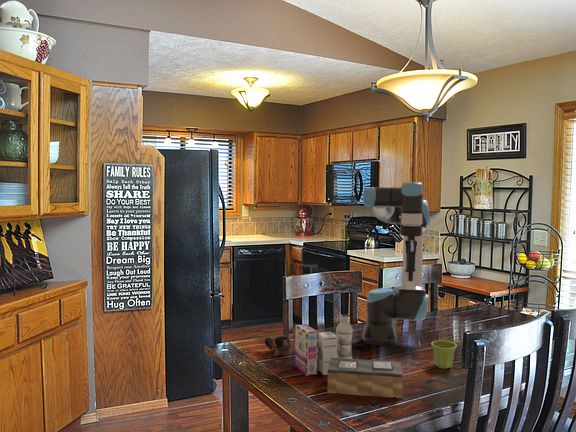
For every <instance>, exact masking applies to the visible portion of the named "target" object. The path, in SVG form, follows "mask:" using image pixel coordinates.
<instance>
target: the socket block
mask: <svg viewBox="0 0 576 432" xmlns="http://www.w3.org/2000/svg"><path fill="white" fill-rule="evenodd" d="M339 361H347V362H357V369H354V368H338V367H339ZM373 361H376V362H391V367H392V371H385V370H373ZM403 375H404V374H403V370H402V363H401V361H390V360H380V359H379V360H376V359H374V360H373V359H360V358H353V359H346V358H330V362H329V367H328V375H327V393H328V394H337V393H338V394H340V395H354V396H355V395H356V396H366V397H367V396H369V397H379V396H380V398H381V397H382V398H393V397H396V398H395V399H403V377H404V376H403Z"/></svg>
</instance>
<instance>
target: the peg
mask: <svg viewBox="0 0 576 432" xmlns="http://www.w3.org/2000/svg"><path fill="white" fill-rule="evenodd" d="M373 370H385V371H392V367H391V362H376V361H373Z"/></svg>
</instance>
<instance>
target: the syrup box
mask: <svg viewBox="0 0 576 432" xmlns="http://www.w3.org/2000/svg"><path fill="white" fill-rule="evenodd" d="M337 347H338V343H337V334H335V333H334V332H332V331H322V332H318V366H317V367H318V368H317V371H318V372H319V373H321V374H322V375H323V376H328V367H329V362H330V358H337Z"/></svg>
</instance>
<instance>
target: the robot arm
mask: <svg viewBox="0 0 576 432" xmlns="http://www.w3.org/2000/svg"><path fill="white" fill-rule="evenodd" d="M423 187H424V186H423V183H422V182H412V181H411V182H408V181H407V182H405V181H404V182H402V183H401V187H398V186H397V187H392V186H391V187H380V186H375V187H374V186H371V187H365V188H364V189H363V195H362V196H363V197H362V200H363V201H362V203H363V206H364V207H369V208H372V213H373V215H374V216H375V218H376V219H378V221H381V222H384V223H386V224H391V225H400V236H402V238H403V243H402V245H403V246H402V277H401V278H402V282H401V283H402V284H401V285H400V287H399V288H398V292H395V291H394V288H390V287H389V288H388V287H383V288H382V287H381V288H375V289H371V290H370V291H368V293H367V295H366V296H367V297H366V324H365V327H364V329H363V333H362V341H363V342H364V343H366V344H369V345H373V346H381V347H382V346H393V345H394V344H396V343H397V341H398V340H397V339H398V337H397V334H396V330H395V327H394V319H395V320H405V321H407V320H408V321H413V322H414V321H424V320H425V319H426V317H427V310H428V305H429V304H428V303H429V297H430V295H429V294H427V292H426V288H425V287H423V259H424V255H423V253H424V248H423V247H424V233H425V231H427V230H428V229H427V228H428V226H430V225H431V220H430V219H431V217H430V210H429V208H430V207H429V203H428V201H427V200H426V199H424V198H423V197H424V195H423V194H424V189H423Z"/></svg>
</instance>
